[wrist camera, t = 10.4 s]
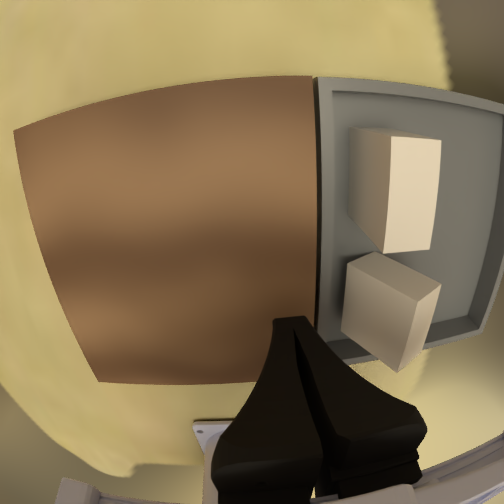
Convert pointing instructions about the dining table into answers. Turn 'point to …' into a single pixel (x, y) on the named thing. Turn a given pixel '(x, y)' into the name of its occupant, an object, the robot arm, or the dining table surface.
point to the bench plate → (178, 224)
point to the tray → (447, 206)
